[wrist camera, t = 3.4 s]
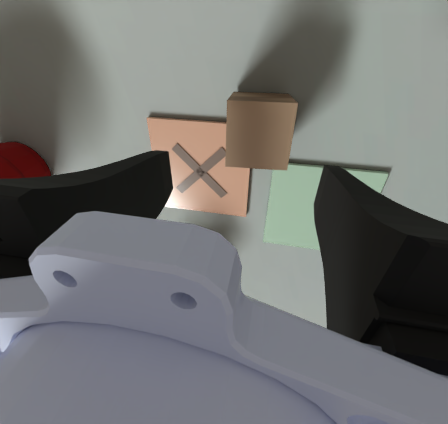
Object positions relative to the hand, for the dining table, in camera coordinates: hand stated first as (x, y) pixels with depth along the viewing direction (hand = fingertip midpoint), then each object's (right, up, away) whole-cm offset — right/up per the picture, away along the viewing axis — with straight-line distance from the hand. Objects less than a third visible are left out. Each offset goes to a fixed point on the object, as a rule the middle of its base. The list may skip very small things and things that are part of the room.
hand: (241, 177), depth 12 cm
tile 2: (+8, -2, +12) cm, 14 cm away
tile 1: (-3, +2, +12) cm, 12 cm away
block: (+2, +5, +8) cm, 10 cm away
